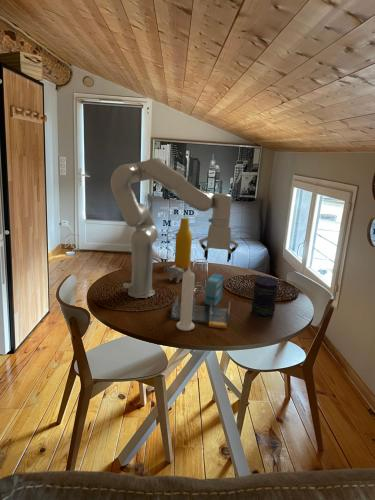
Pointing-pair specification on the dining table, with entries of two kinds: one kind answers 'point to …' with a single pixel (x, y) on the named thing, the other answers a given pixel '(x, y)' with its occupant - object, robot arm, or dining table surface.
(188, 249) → the beer bottle
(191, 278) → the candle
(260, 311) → the storage jar
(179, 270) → the gray elephant figurine
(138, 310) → the dining table surface
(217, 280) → the data package
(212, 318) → the rack
